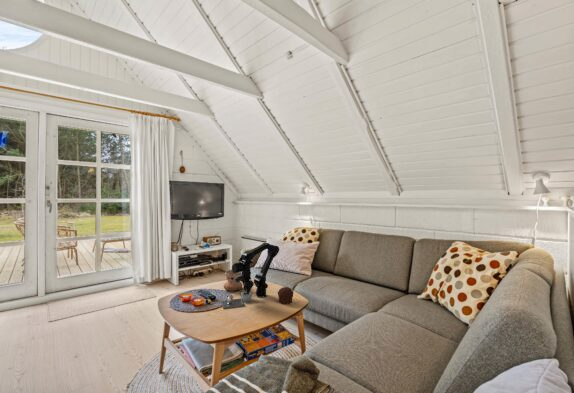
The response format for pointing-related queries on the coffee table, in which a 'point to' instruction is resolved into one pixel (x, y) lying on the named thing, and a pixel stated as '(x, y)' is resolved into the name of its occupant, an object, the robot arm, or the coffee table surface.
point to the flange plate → (232, 303)
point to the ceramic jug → (232, 281)
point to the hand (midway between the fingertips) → (246, 292)
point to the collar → (245, 297)
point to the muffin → (285, 295)
